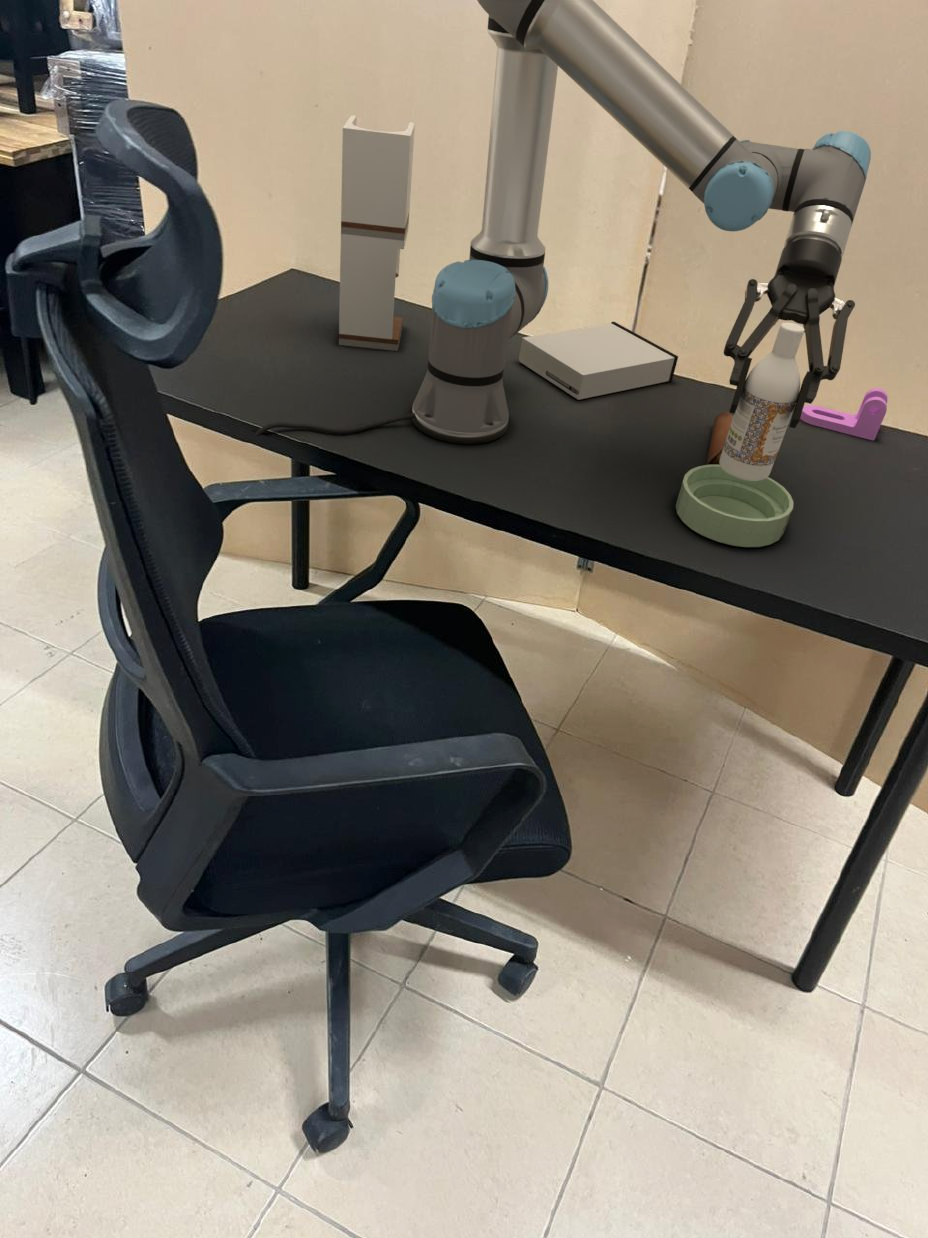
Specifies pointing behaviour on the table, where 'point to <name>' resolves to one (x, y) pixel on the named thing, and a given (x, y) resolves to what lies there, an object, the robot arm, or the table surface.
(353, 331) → the tall white banded column
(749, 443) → the bath foam
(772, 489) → the dish
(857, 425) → the bracket
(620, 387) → the disc drive
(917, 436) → the table surface
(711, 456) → the sunglasses case
